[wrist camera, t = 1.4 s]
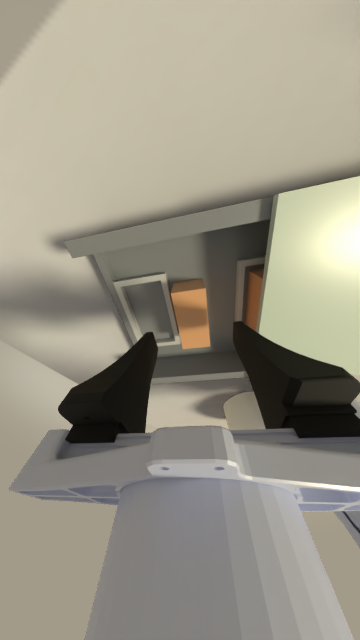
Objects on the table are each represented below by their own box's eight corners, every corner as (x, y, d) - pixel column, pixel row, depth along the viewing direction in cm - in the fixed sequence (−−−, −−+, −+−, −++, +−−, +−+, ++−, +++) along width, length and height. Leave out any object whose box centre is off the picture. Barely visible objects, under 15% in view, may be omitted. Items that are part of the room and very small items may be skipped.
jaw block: (206, 330, 19) (210, 346, 16) (183, 332, 19) (182, 349, 17) (202, 278, 15) (205, 288, 13) (173, 283, 16) (170, 293, 13)
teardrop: (212, 406, 31) (225, 492, 21) (256, 383, 26) (301, 479, 16) (244, 423, 34) (268, 504, 24) (288, 405, 30) (341, 497, 19)
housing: (279, 347, 21) (300, 373, 17) (146, 360, 24) (138, 384, 20) (319, 192, 12) (382, 172, 8) (96, 239, 15) (63, 241, 11)
